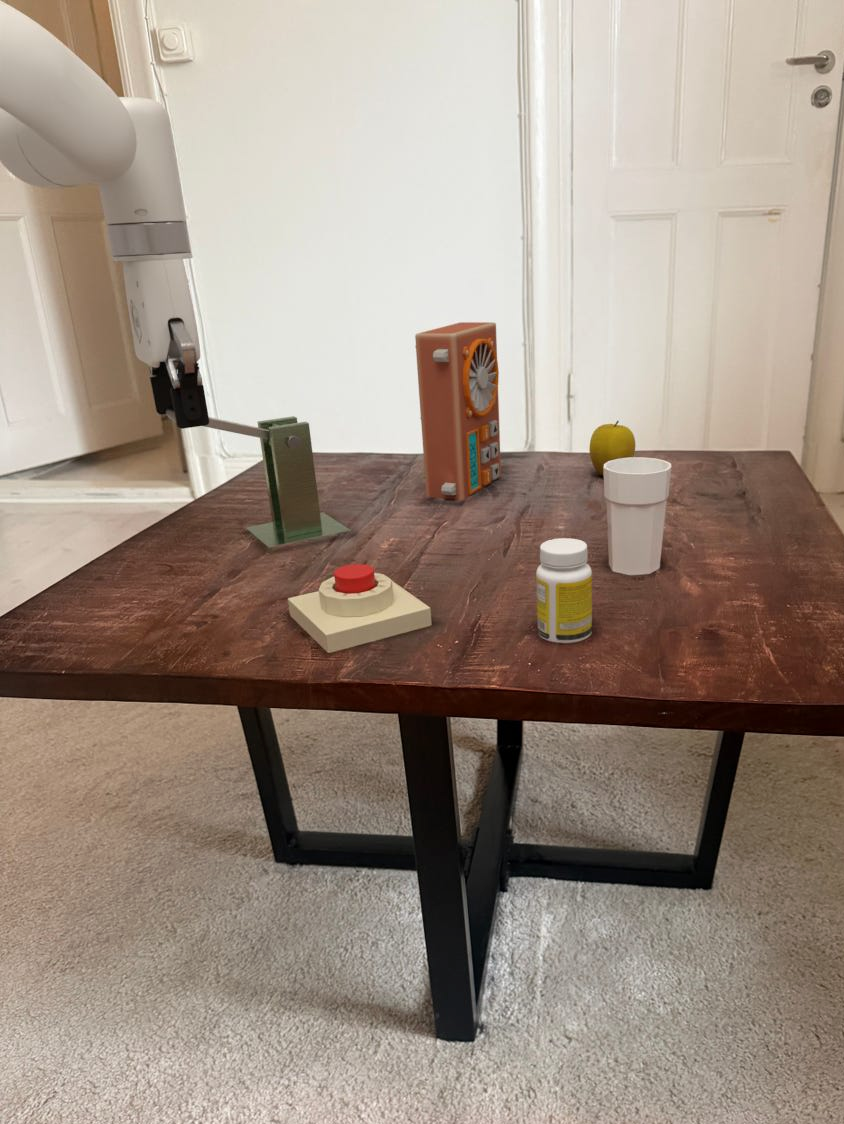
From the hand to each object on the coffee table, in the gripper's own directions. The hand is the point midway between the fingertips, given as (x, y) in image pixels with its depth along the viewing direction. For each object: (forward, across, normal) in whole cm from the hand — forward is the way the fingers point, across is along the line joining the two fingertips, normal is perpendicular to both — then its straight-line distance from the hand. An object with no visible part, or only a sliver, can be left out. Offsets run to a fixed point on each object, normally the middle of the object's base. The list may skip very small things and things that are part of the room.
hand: (182, 419), depth 95 cm
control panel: (+16, -4, +36) cm, 39 cm away
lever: (+3, 0, +5) cm, 6 cm away
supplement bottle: (+16, +41, +21) cm, 49 cm away
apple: (+16, +1, +57) cm, 59 cm away
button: (+12, +28, +7) cm, 31 cm away
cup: (+16, +32, +36) cm, 51 cm away
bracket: (+16, 0, +11) cm, 19 cm away
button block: (+16, +28, +7) cm, 33 cm away
